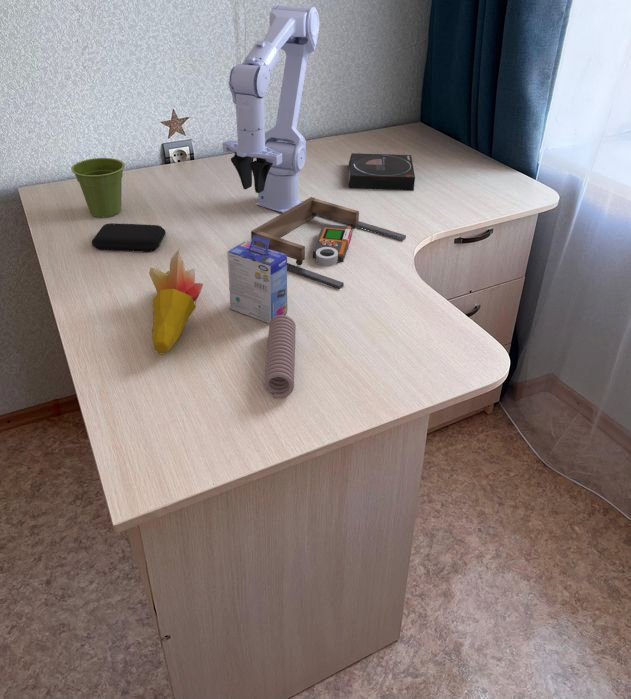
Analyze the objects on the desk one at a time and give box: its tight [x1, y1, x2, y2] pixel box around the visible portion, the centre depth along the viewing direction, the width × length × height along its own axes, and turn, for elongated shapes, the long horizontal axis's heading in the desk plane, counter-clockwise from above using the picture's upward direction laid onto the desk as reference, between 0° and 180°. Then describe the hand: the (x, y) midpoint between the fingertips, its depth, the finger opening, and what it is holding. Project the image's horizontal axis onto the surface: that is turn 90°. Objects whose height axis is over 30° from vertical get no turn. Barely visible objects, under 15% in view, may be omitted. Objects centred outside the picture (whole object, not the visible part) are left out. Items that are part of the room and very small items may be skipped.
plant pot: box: [70, 157, 125, 218], centre depth 156 cm, size 12×12×11 cm
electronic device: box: [312, 223, 353, 267], centre depth 144 cm, size 7×3×15 cm
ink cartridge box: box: [227, 235, 288, 324], centre depth 120 cm, size 10×6×14 cm, turn 58°
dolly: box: [250, 196, 360, 266], centre depth 147 cm, size 13×23×4 cm, turn 145°
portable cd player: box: [347, 152, 416, 192], centre depth 178 cm, size 16×17×4 cm
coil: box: [263, 314, 297, 399], centre depth 110 cm, size 5×5×18 cm
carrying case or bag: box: [91, 222, 167, 253], centre depth 146 cm, size 11×3×15 cm
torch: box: [148, 247, 204, 355], centre depth 119 cm, size 8×8×25 cm
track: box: [287, 214, 407, 290], centre depth 146 cm, size 26×28×1 cm
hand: (253, 189), depth 145 cm, fingers open, 3 cm apart
